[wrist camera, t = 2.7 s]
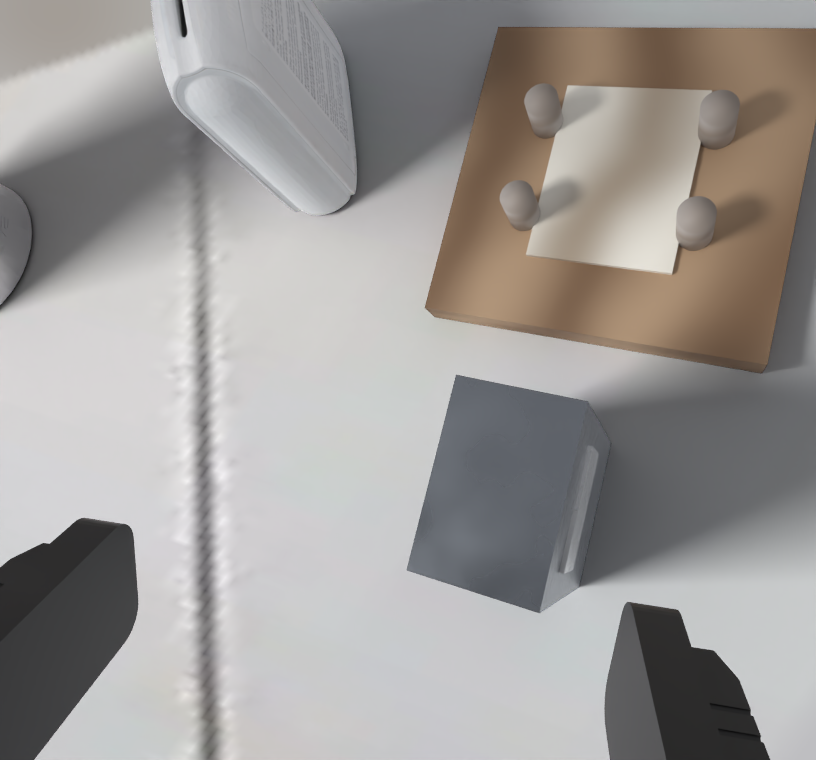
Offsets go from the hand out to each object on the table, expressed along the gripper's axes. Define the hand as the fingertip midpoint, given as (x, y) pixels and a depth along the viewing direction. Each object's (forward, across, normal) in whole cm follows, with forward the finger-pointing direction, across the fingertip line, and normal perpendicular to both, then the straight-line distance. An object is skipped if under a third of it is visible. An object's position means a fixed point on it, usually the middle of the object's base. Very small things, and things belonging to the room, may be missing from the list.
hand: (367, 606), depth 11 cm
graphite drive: (+17, +4, -7) cm, 19 cm away
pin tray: (+24, +6, +5) cm, 25 cm away
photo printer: (+30, -9, +6) cm, 31 cm away
